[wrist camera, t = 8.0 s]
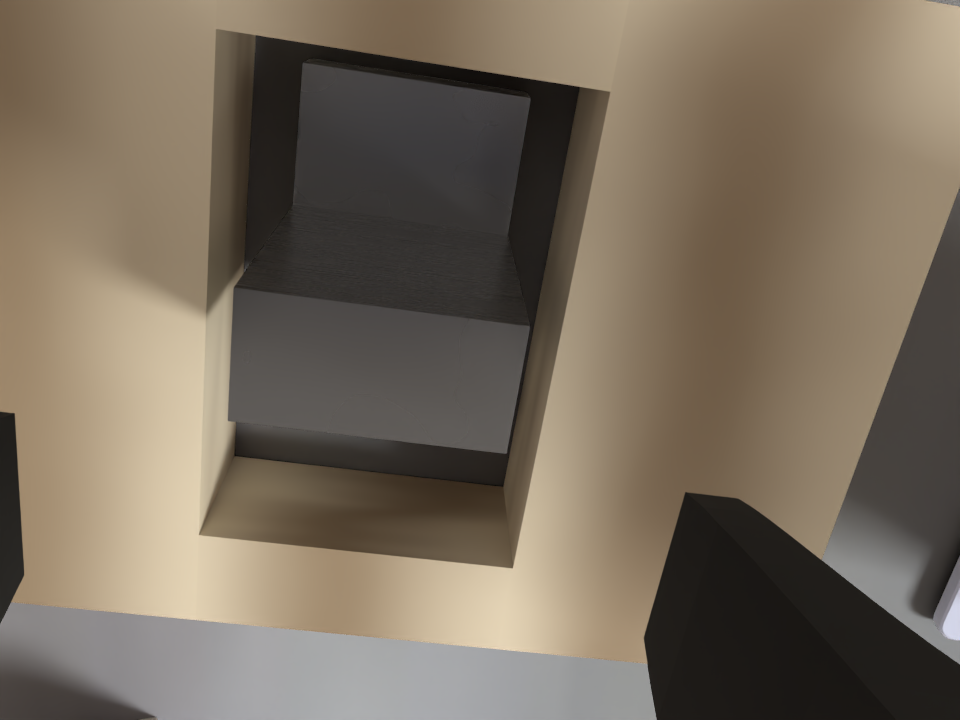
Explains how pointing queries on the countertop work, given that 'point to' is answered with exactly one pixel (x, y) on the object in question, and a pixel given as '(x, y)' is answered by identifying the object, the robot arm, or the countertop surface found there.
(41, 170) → the well block
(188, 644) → the countertop surface
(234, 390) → the t bracket
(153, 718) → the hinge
